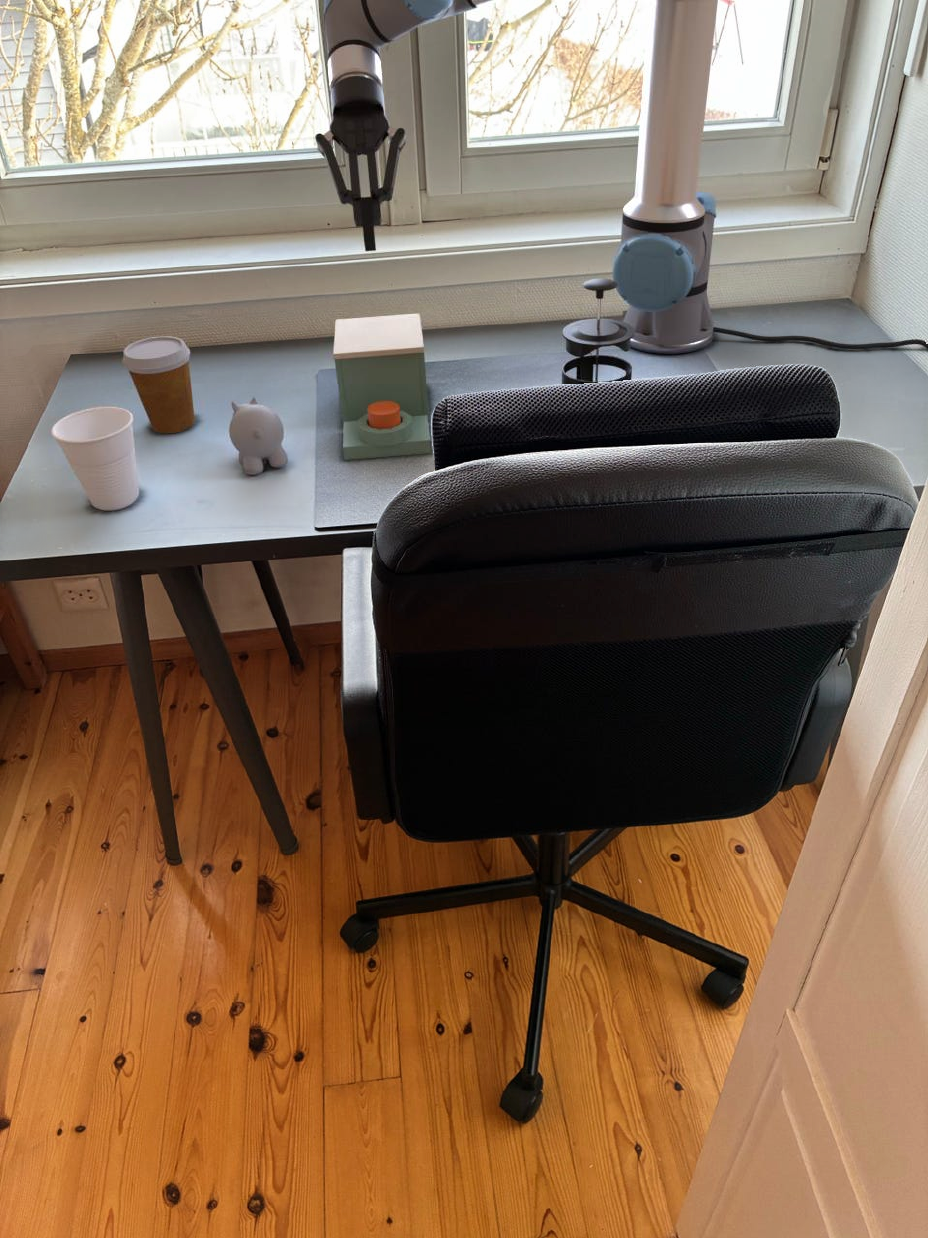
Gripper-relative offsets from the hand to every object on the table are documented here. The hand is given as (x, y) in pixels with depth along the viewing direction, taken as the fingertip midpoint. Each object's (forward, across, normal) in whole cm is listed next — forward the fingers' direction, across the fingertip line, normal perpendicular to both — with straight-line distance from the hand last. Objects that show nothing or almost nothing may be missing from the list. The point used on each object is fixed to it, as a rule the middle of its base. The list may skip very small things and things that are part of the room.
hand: (370, 245), depth 131 cm
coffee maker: (+18, 0, -14) cm, 23 cm away
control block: (+27, 0, -6) cm, 27 cm away
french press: (+32, -28, -1) cm, 42 cm away
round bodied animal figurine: (+28, +18, -5) cm, 33 cm away
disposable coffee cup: (+18, +32, -14) cm, 40 cm away
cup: (+34, +36, +1) cm, 50 cm away
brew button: (+25, 0, -2) cm, 25 cm away
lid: (+11, 0, -7) cm, 12 cm away
